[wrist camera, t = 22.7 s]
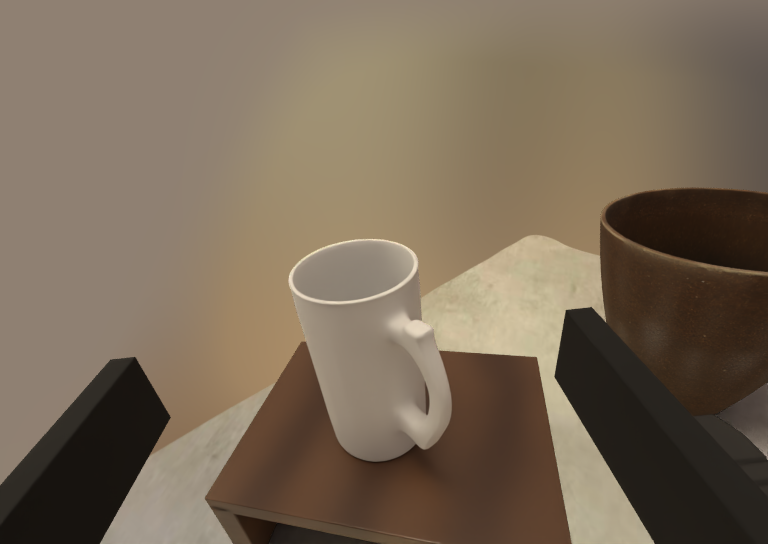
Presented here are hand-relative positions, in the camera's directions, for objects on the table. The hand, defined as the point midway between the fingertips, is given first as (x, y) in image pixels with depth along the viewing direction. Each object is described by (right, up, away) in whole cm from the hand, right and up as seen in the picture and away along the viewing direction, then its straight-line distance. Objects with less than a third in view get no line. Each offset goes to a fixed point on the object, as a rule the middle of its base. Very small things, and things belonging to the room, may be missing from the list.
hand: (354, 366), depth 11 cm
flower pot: (+26, -8, +22) cm, 35 cm away
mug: (+2, -8, +12) cm, 15 cm away
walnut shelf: (+2, -13, +17) cm, 21 cm away
